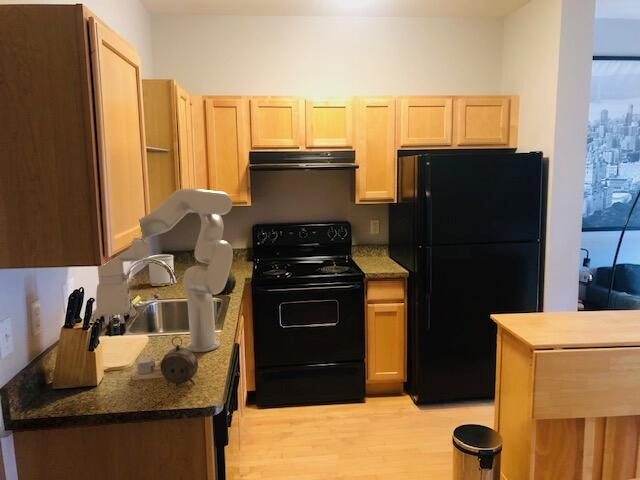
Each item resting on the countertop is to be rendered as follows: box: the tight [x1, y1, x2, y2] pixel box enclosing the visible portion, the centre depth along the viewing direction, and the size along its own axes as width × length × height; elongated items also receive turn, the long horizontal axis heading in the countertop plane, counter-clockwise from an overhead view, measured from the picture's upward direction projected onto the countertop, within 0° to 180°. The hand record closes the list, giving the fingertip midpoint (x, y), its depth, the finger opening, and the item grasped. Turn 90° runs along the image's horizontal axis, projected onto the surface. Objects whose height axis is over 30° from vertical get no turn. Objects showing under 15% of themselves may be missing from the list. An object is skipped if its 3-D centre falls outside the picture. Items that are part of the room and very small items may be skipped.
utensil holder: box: [147, 254, 175, 284], centre depth 284 cm, size 15×15×18 cm
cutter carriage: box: [136, 355, 156, 374], centre depth 154 cm, size 5×5×4 cm
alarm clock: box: [159, 336, 199, 390], centre depth 146 cm, size 11×5×16 cm, turn 83°
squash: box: [220, 271, 237, 293], centre depth 262 cm, size 14×15×15 cm
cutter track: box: [131, 366, 164, 381], centre depth 155 cm, size 5×17×4 cm, turn 100°
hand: (117, 334), depth 151 cm, fingers open, 2 cm apart
